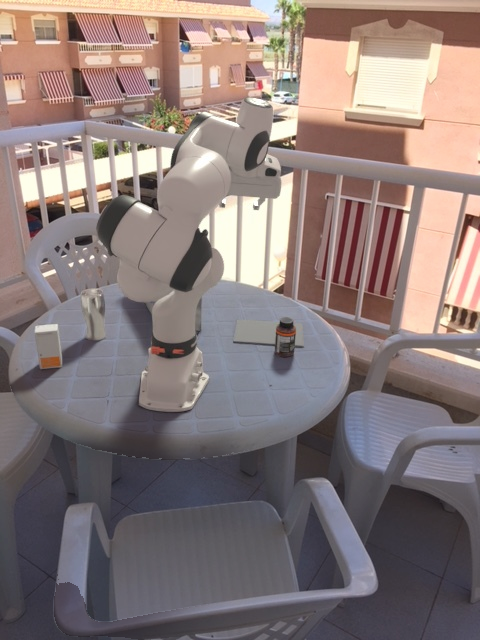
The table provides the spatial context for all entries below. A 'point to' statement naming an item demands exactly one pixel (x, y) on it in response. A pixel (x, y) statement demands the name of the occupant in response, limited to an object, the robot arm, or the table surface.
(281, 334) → the supplement bottle
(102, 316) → the beer glass
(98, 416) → the table surface
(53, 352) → the skincare box
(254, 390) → the table surface
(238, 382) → the table surface
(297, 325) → the rubber mat
